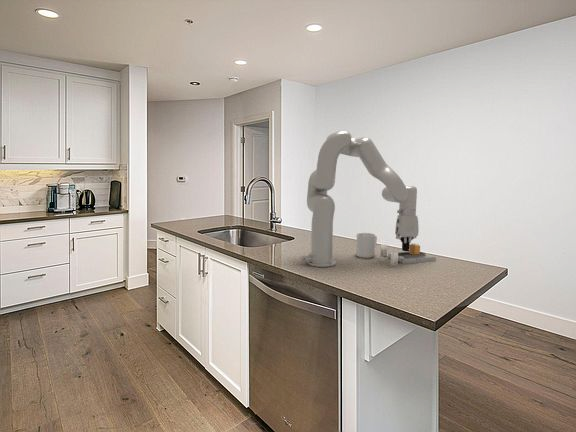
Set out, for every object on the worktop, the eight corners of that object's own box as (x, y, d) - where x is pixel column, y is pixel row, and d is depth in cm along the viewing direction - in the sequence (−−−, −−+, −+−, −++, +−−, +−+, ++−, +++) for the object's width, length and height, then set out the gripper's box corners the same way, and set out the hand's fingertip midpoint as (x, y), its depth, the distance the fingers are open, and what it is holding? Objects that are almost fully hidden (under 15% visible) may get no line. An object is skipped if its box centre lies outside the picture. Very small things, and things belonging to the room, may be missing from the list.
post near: (393, 266, 162) (393, 253, 161) (389, 265, 164) (389, 252, 164) (398, 266, 162) (399, 253, 162) (395, 264, 165) (395, 251, 165)
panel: (402, 263, 167) (403, 256, 167) (388, 257, 179) (388, 251, 178) (435, 261, 173) (436, 254, 172) (419, 255, 184) (419, 249, 184)
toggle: (414, 255, 173) (414, 244, 173) (409, 253, 177) (409, 243, 177) (419, 255, 174) (420, 244, 174) (414, 253, 178) (414, 242, 177)
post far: (382, 256, 180) (383, 244, 180) (379, 255, 183) (379, 243, 183) (387, 256, 181) (388, 244, 181) (384, 255, 184) (385, 243, 183)
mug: (365, 259, 175) (366, 236, 173) (352, 256, 182) (353, 233, 180) (382, 256, 182) (383, 234, 180) (368, 253, 189) (369, 231, 188)
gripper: (398, 213, 166) (396, 253, 168) (426, 213, 171) (423, 251, 173) (389, 212, 173) (387, 250, 175) (415, 211, 178) (413, 248, 180)
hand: (405, 250), depth 174 cm, fingers closed
